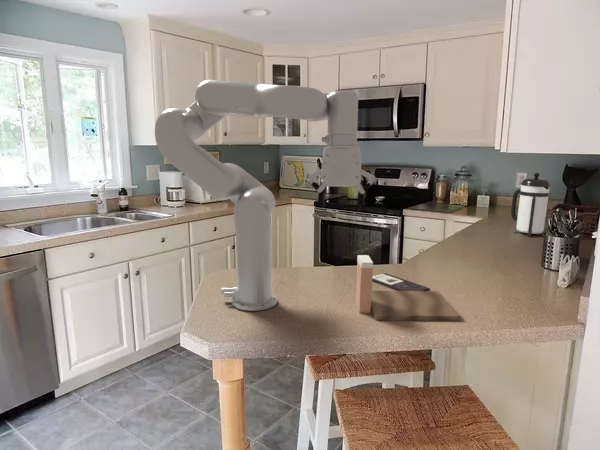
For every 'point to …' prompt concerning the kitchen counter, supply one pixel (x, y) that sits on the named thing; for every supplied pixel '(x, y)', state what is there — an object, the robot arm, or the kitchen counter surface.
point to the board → (411, 306)
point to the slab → (364, 283)
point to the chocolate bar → (397, 283)
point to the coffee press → (531, 205)
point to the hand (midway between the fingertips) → (340, 207)
